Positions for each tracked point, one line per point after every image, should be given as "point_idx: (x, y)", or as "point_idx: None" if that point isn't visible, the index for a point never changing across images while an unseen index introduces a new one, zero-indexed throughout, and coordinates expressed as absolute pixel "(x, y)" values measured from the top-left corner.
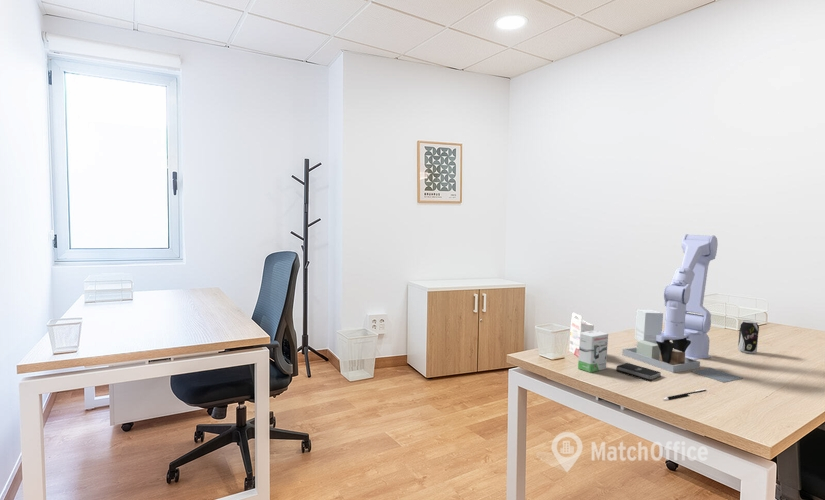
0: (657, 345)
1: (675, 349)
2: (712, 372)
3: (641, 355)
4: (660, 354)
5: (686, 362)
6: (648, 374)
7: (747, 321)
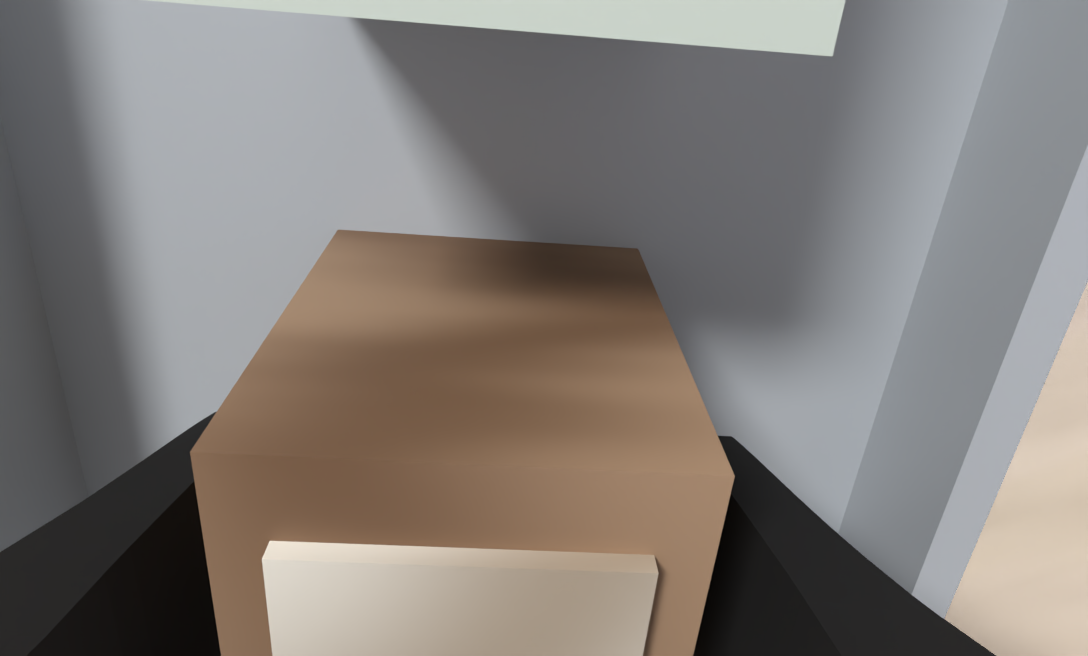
0: (594, 30)
1: (782, 644)
2: None
3: None
4: (276, 343)
5: (863, 523)
6: None
7: None
